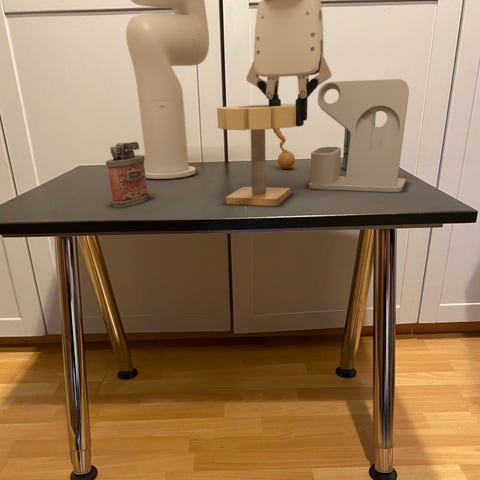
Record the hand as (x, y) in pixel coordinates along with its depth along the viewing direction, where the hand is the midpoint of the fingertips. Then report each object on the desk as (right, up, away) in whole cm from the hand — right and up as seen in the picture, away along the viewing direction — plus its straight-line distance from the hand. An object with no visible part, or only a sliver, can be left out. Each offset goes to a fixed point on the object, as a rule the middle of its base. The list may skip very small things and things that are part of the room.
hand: (287, 124), depth 77 cm
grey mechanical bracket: (+15, -6, +15) cm, 22 cm away
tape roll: (-5, 0, +2) cm, 5 cm away
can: (+19, +3, +32) cm, 37 cm away
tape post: (-4, -10, +7) cm, 13 cm away
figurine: (+2, +4, +35) cm, 36 cm away
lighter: (-27, -11, +9) cm, 30 cm away
